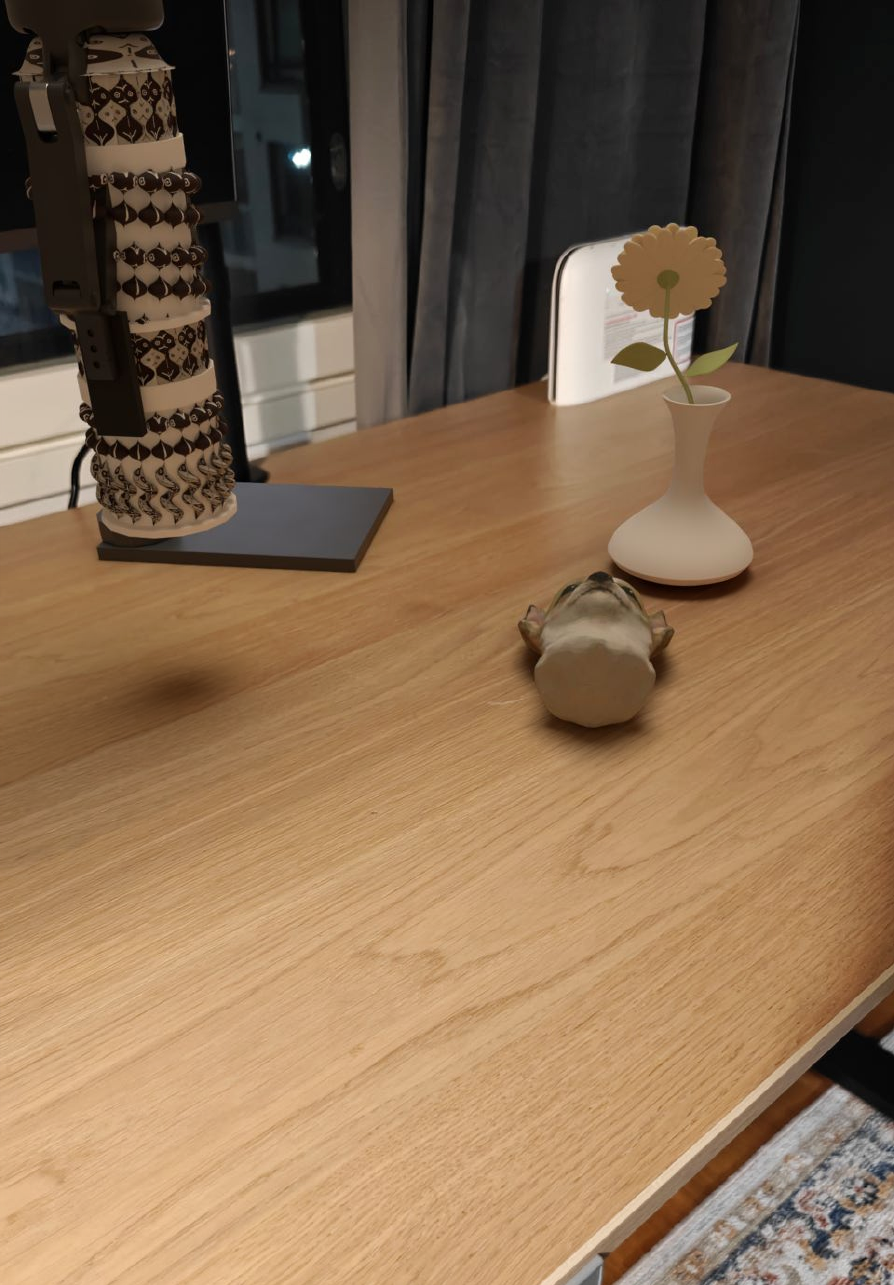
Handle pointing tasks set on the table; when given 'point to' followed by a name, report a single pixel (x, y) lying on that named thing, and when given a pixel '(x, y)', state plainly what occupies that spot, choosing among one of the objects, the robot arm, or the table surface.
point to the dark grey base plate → (271, 531)
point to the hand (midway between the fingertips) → (153, 409)
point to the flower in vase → (678, 417)
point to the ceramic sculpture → (595, 650)
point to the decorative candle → (151, 299)
